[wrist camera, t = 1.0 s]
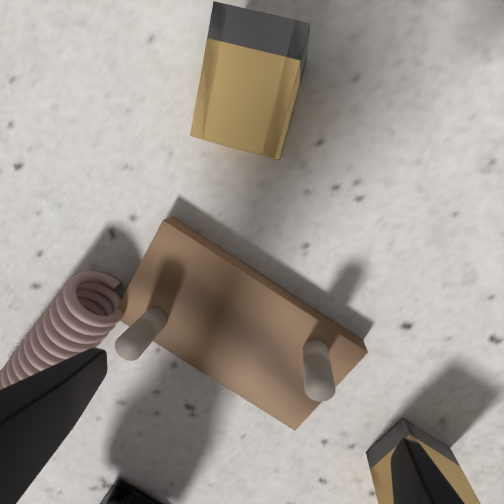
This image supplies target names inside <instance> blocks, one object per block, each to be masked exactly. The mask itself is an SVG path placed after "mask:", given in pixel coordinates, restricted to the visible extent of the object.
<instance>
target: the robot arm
mask: <svg viewBox="0 0 504 504" xmlns="http://www.w3.org/2000/svg"><path fill="white" fill-rule="evenodd" d="M106 373H107V353H106V351H105V350H103V349H99V348H95V347H93V348H90V349H87V350H85V351H83V352H81V353H79V354H77V355H74V356H72V357H70V358H68V359H66V360H64V361H61V362H59V363H57V364H55V365H53V366H51V367H48V368H46V369H44V370H42V371H40V372H38V373H35V374H33V375H31V376H29V377H27V378H25V379H22V380H20V381H18V382H16V383H14V384H11V385H9V386H7V387H5V388H3V389H1V390H0V504H16V503H17V502H18V500H19V499H20V498H21V496H22V495H23V494H24V492H25V491H26V490H27V488H28V487H29V486H30V484H31V483H32V482H33V480H34V479H35V478H36V476H37V475H38V474H39V473H40V471H41V470H42V469H43V467H44V466H45V465H46V463H47V462H48V461H49V459H50V458H51V457H52V455H53V454H54V453H55V451H56V450H57V449H58V447H59V446H60V445H61V443H62V442H63V441H64V439H65V438H66V437H67V435H68V434H69V433H70V431H71V430H72V429H73V427H74V426H75V424H76V423H77V421H78V420H79V418H80V417H81V415H82V413H83V412H84V410H85V409H86V407H87V405H88V404H89V402H90V401H91V399H92V397H93V396H94V394H95V392H96V391H97V389H98V388H99V386H100V384H101V383H102V381H103V380H104V378H105V376H106ZM391 477H392V490H393V502H394V504H465V503H464V502H463V500H462V499H461V498H460V496H459V495H458V494H457V492H456V491H455V490H454V488H453V487H452V486H451V484H450V483H449V482H448V480H447V479H446V477H445V476H444V475H443V473H442V472H441V471H440V469H439V468H438V467H437V465H436V464H435V463H434V461H433V460H432V459H431V457H430V456H429V455H428V453H427V452H426V451H425V449H424V448H423V447H422V445H421V444H420V443H419V442H417V441H415V440H411V439H408V438H402V439H401V440H400V441H399V443H398V445H397V446H396V448H395V450H394V452H393V454H392V456H391ZM101 504H159V503H157V502H156V501H154V500H153V499H151V498H149V497H148V496H146V495H144V494H143V493H141V492H139V491H138V490H136V489H135V488H133V487H131V486H130V485H128V484H126V483H125V482H123V481H121V480H118V481H117V482H116V483H115V484H114V486H113V487H112V489H111V490H110V492H109V493H108V495H107V496H106V497H105V499H104V500H103V502H102V503H101Z"/></svg>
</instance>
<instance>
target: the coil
mask: <svg viewBox="0 0 504 504" xmlns="http://www.w3.org/2000/svg"><path fill="white" fill-rule="evenodd" d="M105 284H106V285H105ZM120 284H121V282H120V281H119V280H117V279H116V278H114V277H112V276H110V275H108V274H105V273H102V272H97V271H85V272H80V273H77V274H75V275H73V276H72V277H71V278H70V279H69V280H68V281H67V282H66V284H65V286H64V287H63V288H62V289H61V290H60V292H59V293H58V295H57V296H56V297H55V298H54V300H53V301H52V303H51V304H50V305H49V307H48V308H47V309H46V311H45V313H44V314H43V315H42V316H41V317H40V319H39V321H38V322H37V323H36V324H35V325H34V327H33V329H32V330H31V331H30V332H29V333H28V335H27V337H26V338H25V339H24V340H23V341H22V343H21V345H19V347H18V348H17V349H16V351H15V352H14V353H13V355H12V356H11V358H10V359H9V360H8V361H7V363H6V364H5V366H4V367H3V368H2V369H1V371H0V390H1V389H3V388H5V387H7V386H9V385H11V384H14V383H16V382H18V381H20V380H22V379H25V378H27V377H29V376H31V375H33V374H35V373H38V372H40V371H42V370H44V369H46V368H48V367H51V366H53V365H55V364H57V363H59V362H61V361H64V360H66V359H68V358H70V357H72V356H74V355H77V354H79V353H81V352H83V351H85V350H87V349H90V348H93V347H95V348H96V346H98V345H99V344H100V343H101V341H102V340H103V338H105V337H106V336H107V335H108V333H109V331H111V330H112V329H113V328H114V327H115V325H116V323H118V322H119V321H120V320H121V319H122V317H123V312H122V311H121V310H120V309H117V307H118V305H119V303H120V301H121V297H120V296H119V295H118V294H117V292H115V291H114V290H116V289H117V288H118V287H119V285H120ZM107 285H108V286H107ZM113 289H114V290H113Z"/></svg>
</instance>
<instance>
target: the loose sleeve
mask: <svg viewBox="0 0 504 504" xmlns="http://www.w3.org/2000/svg"><path fill="white" fill-rule="evenodd" d="M402 438H408V439H411V440H415V441H417V442H419V443H420V444H421V445H422V447H423V448H424V449H425V451H426V452H427V453H428V455H429V456H430V457H431V459H432V460H433V461H434V463H435V464H436V465H437V467H438V468H439V469H440V471H441V472H442V473H443V475H444V476H445V477H446V479H447V480H448V482H449V483H450V484H451V486H452V487H453V488H454V490H455V491H456V492H457V494H458V495H459V496H460V498H461V499H462V500H463V502H464V503H465V504H480V502H479V500H478V498H477V496H476V494H475V493H474V491H473V489H472V487H471V485H470V484H469V482H468V480H467V478H466V476H465V474H464V473H463V471H462V469H461V467H460V465H459V463H458V462H457V460H456V458H455V456H454V454H453V452H452V451H451V449H450V448H449V447H447V446H446V445H444V444H442V443H441V442H439V441H438V440H436V439H435V438H433V437H432V436H430V435H428V434H427V433H425V432H424V431H422V430H421V429H419V428H417V427H416V426H414V425H413V424H411V423H410V422H408V421H407V420H405V419H402V420H401V421H400V422H399V423H397V424H396V425H395V426H394V427H393V428H392V429H391V430H390V431H389V432H388V433H386V434H385V435H384V436H383V437H382V438H381V439H380V440H379V441H378V442H377V443H376V444H374V445H373V446H372V447H371V448H370V449H369V450H368V451H367V452H366V454H367V459H368V463H369V467H370V471H371V475H372V479H373V483H374V487H375V491H376V496H377V500H378V504H394V502H393V490H392V477H391V456H392V454H393V452H394V450H395V448H396V446H397V445H398V443H399V441H400V440H401V439H402Z"/></svg>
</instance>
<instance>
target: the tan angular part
mask: <svg viewBox="0 0 504 504" xmlns="http://www.w3.org/2000/svg"><path fill="white" fill-rule="evenodd" d="M309 29H310V23H305V22H301V21H297V20H292V19H288V18H284V17H279V16H275V15H271V14H266V13H262V12H258V11H253V10H249V9H245V8H240V7H236V6H232V5H227V4H223V3H219V2H213V8H212V14H211V19H210V25H209V31H208V37H207V42H206V48H205V54H204V60H203V65H202V71H201V77H200V82H199V88H198V94H197V100H196V105H195V111H194V117H193V123H192V128H191V134H190V136H193V137H196V138H200V139H203V140H206V141H210V142H213V143H217V144H221V145H224V146H228V147H232V148H236V149H240V150H243V151H247V152H251V153H255V154H258V155H262V156H266V157H270V158H274V159H277V160H280V157H281V153H282V149H283V145H284V142H285V138H286V134H287V131H288V127H289V123H290V119H291V116H292V112H293V108H294V104H295V101H296V97H297V93H298V89H299V86H300V82H301V78H302V75H303V71H304V67H305V63H306V60H307V50H308V40H309Z"/></svg>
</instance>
